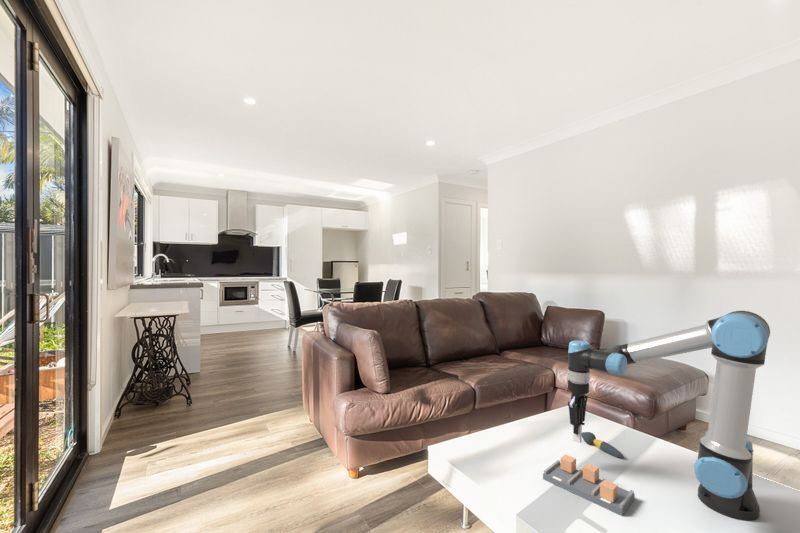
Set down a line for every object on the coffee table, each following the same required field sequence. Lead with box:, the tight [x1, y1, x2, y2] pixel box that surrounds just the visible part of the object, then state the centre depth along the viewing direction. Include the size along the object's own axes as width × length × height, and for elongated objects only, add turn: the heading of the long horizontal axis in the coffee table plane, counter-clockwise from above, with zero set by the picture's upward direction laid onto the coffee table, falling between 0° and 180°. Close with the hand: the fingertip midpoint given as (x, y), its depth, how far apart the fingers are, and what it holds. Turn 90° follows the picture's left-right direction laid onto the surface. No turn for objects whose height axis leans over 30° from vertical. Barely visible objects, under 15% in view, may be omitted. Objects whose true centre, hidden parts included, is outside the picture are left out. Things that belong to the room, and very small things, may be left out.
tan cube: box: [560, 454, 577, 473], centre depth 137 cm, size 4×4×4 cm
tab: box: [600, 479, 619, 502], centre depth 121 cm, size 4×4×4 cm
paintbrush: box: [582, 431, 625, 459], centre depth 156 cm, size 20×5×5 cm, turn 32°
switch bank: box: [542, 459, 636, 517], centre depth 128 cm, size 26×12×3 cm, turn 41°
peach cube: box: [582, 462, 600, 483], centre depth 131 cm, size 4×4×4 cm
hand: (577, 441), depth 143 cm, fingers closed
